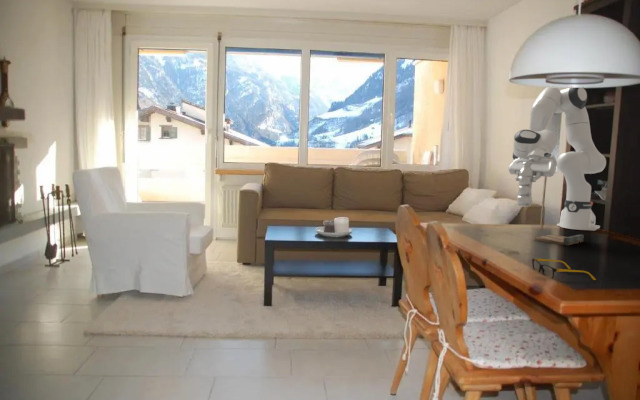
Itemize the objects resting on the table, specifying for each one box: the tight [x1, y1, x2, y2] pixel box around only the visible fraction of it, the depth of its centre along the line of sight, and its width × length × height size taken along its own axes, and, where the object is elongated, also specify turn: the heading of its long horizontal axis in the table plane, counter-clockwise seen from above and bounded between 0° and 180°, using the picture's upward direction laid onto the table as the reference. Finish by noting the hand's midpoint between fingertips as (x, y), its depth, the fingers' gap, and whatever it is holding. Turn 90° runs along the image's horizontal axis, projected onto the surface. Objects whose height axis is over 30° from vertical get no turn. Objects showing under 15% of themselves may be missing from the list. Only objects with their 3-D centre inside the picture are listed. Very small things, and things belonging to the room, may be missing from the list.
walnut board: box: [534, 233, 585, 246], centre depth 223 cm, size 16×14×3 cm
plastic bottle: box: [516, 162, 535, 208], centre depth 229 cm, size 6×7×20 cm
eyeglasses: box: [531, 258, 597, 281], centre depth 163 cm, size 14×14×4 cm
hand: (525, 180), depth 229 cm, fingers closed on plastic bottle, 6 cm apart
